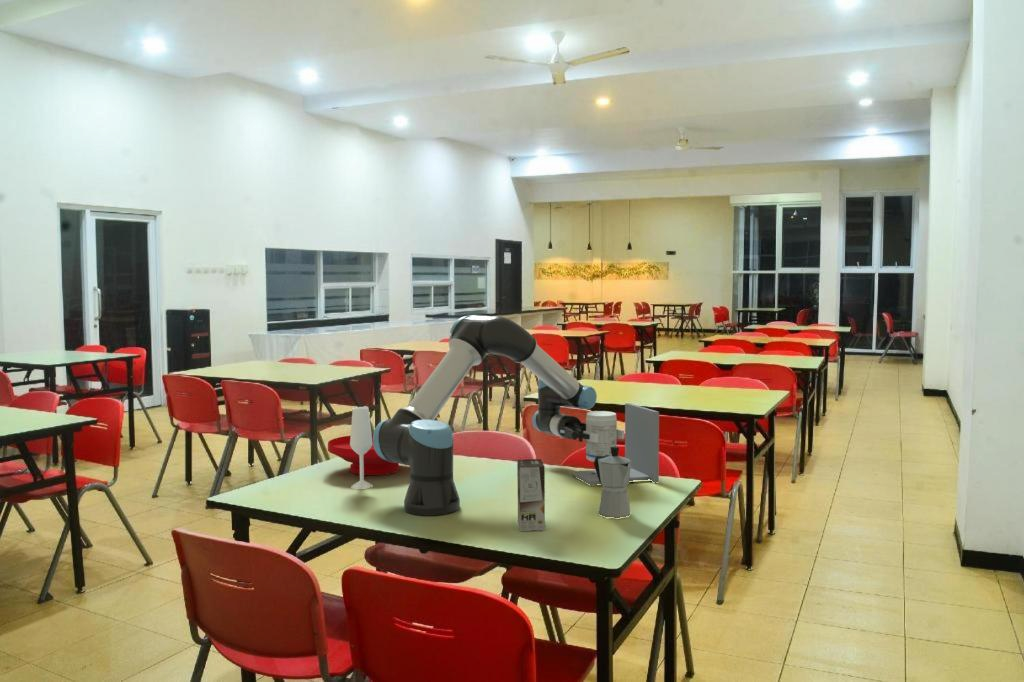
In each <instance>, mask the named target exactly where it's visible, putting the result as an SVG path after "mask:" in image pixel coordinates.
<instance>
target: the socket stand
mask: <svg viewBox="0 0 1024 682" xmlns="http://www.w3.org/2000/svg"><path fill="white" fill-rule="evenodd" d="M624 458H628V459H629V460H631V461H632V462H631V469H630V477H629V481H633V480H648V479H650V480H652V481H653V482H659V478H660V477H659V476H660V475H659V474H660V473H659V471H660V469H659V466H660V459H659V458H660V411H657V410H654V409H650V408H647V407H644V406H640V405H637V404H633V403H625V402H624ZM573 475H574V476H576V477H577V478H579V479H581V480H583V481H584V482H586V483H588V484H590V485H597V484H600V481H599V478H598V475H597V472H596V469H587V470H575V471H572V476H573ZM574 476H573V477H574ZM577 478H576V479H577ZM579 479H578V480H579ZM581 480H580V481H581ZM584 482H583V483H584ZM586 483H585V484H586ZM659 483H660V482H659ZM588 484H587V485H588Z"/></svg>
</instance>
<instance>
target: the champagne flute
mask: <svg viewBox="0 0 1024 682" xmlns="http://www.w3.org/2000/svg"><path fill="white" fill-rule="evenodd" d="M351 412H352V413H351V427H350V435H351V437H350V446H351V448H352V449H353V450H354V451H355V452H356V453H357V454H359V455H360V474H359V480H358V481H356V482H355V483H353V485H351V486H350V488H351V489H354V490H367V489H370V487H371V488H373V487H374V485H373V484H372V483H370V482H368V481H366V480H365V475H364V460H363V455H364V454H365V453H366V452H367V451H368V450H369V449H370V448H371V446H372V444H373V443H372V434H373V433H372V426H371V418H370V409H369V407H367V406H357V407H352V411H351Z"/></svg>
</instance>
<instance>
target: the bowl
mask: <svg viewBox="0 0 1024 682" xmlns="http://www.w3.org/2000/svg"><path fill="white" fill-rule="evenodd" d="M371 434H372V443H373V433H371ZM350 437H351V434H350V435H345V436H341V437H340V436H339V437H336V438H332V439H330V440H328V442H327V451H328V453H330V454H333V455H334V456H337V457H338V458H341V459H342V460H344V461H346V462H348V463H351V464H350V469H349V470H350V472H351V473H352V474H355V475H360V455H359V454H357V453H356V452H355V451H354V450H353V449H352V448H351V446H350ZM363 460H364V476H383V475H389V473H390V474H393V472H394V473H397V472H398V471H400V464H399V463H392V462H389V461H387V460H385V459H382V458H381V457H379V456H378V454H377V453H376V451H375V449H374V446H373V444H372V446H371V448H370V449H369V450H368V451H367V452H366V453H365V454H364V455H363ZM396 471H397V472H396Z"/></svg>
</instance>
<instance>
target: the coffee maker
mask: <svg viewBox="0 0 1024 682" xmlns="http://www.w3.org/2000/svg"><path fill="white" fill-rule="evenodd" d="M610 449H611V454H612V456H610V455H605V456H597V457H596V458H595V461H594V462H593V466H594V470H596V472H597V475H598V478H599V481H600V484H602V485H601V486H602V490H601V496H600V504H599V508H598V514H600V515H602V516H605V517H614V518H620V517H626V516H629V515H630V512H631V508H630V500H629V493H628V489H627V487H628V486H629V484H630V483H629V477H630V469H631V462H632V461H631V460H629V459H628V458H625V456H620V455H619V451H620V447H619V446H616V447H610ZM630 516H631V515H630Z"/></svg>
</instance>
